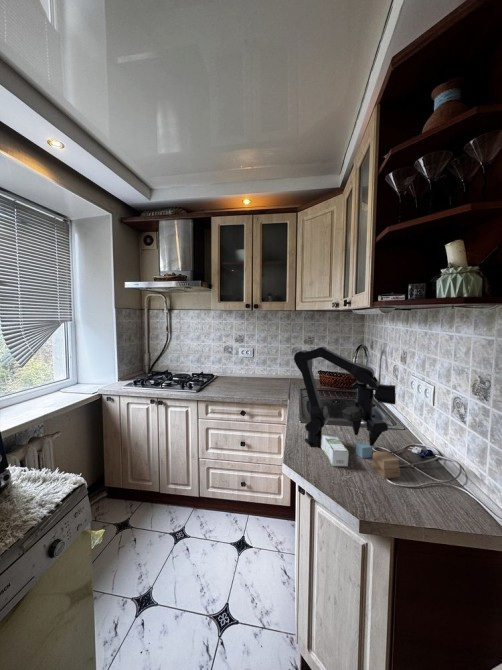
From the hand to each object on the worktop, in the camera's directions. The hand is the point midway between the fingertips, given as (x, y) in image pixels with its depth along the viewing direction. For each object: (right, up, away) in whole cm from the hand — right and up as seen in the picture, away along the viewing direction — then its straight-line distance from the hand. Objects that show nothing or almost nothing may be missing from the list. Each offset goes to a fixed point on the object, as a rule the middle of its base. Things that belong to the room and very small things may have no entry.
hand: (363, 440), depth 101 cm
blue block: (0, -6, 0) cm, 6 cm away
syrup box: (-12, -3, -9) cm, 15 cm away
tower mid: (+2, -4, -12) cm, 12 cm away
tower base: (+3, -7, -12) cm, 14 cm away
